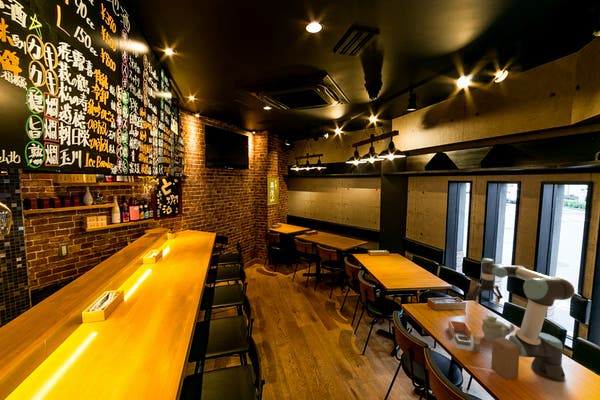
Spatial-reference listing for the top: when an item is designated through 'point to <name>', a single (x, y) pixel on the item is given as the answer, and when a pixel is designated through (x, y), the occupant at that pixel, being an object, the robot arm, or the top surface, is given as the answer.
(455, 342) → the board
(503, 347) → the wooden block
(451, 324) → the housing
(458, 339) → the socket
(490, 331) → the teapot
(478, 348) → the peg
